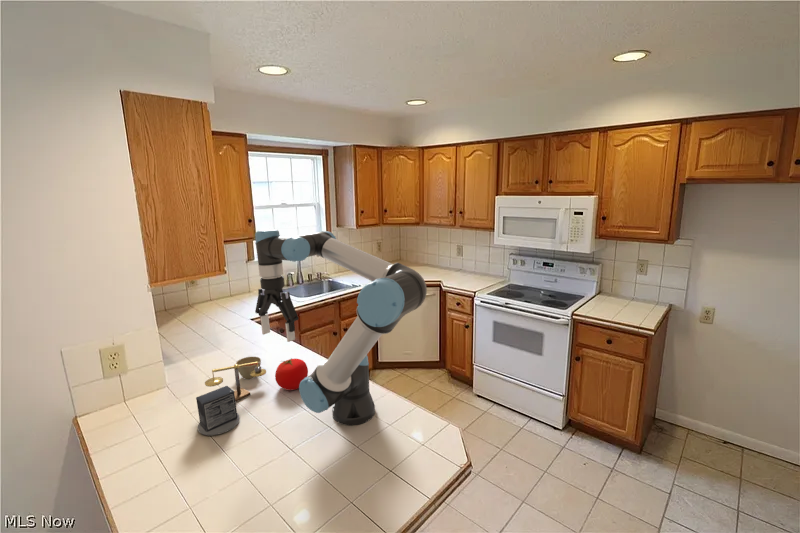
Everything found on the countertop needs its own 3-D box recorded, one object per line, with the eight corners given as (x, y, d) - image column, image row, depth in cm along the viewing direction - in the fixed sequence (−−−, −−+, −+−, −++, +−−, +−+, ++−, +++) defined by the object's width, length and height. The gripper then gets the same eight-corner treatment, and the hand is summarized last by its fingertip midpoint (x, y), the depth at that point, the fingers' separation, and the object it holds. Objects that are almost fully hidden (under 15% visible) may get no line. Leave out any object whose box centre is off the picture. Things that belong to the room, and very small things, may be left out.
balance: (270, 385, 156) (267, 352, 153) (213, 412, 138) (208, 375, 134) (262, 381, 159) (258, 349, 156) (205, 407, 141) (200, 370, 138)
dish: (247, 422, 131) (246, 419, 131) (209, 442, 121) (208, 438, 121) (228, 409, 139) (227, 406, 139) (191, 427, 129) (190, 423, 129)
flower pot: (253, 383, 158) (252, 367, 156) (232, 381, 160) (230, 365, 158) (266, 372, 167) (265, 357, 166) (246, 370, 169) (244, 355, 168)
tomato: (315, 385, 155) (314, 359, 153) (285, 399, 146) (283, 371, 143) (299, 375, 164) (297, 351, 161) (269, 388, 154) (267, 362, 152)
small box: (230, 411, 136) (227, 384, 134) (238, 418, 132) (235, 390, 130) (199, 424, 129) (195, 396, 126) (206, 432, 124) (202, 403, 122)
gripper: (305, 277, 122) (311, 339, 126) (259, 271, 136) (265, 327, 140) (286, 282, 116) (293, 347, 120) (240, 275, 130) (247, 333, 134)
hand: (278, 336), depth 130 cm, fingers open, 13 cm apart
